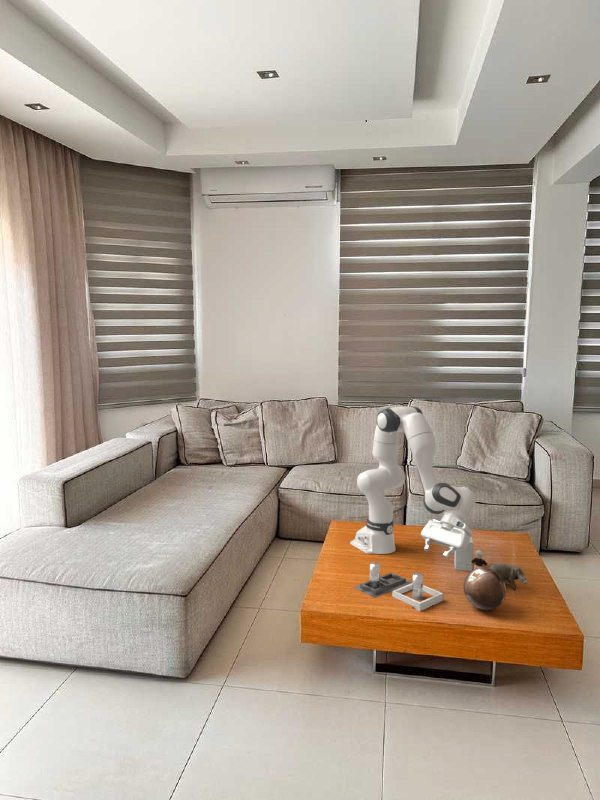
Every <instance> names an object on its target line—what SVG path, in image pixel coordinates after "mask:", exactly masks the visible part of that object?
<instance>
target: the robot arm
mask: <svg viewBox="0 0 600 800" xmlns="http://www.w3.org/2000/svg"><path fill="white" fill-rule="evenodd" d="M399 433H404V434H405V437H406V441H407V443H408V447H409V449H410V450H411V453H412V454H411V455H412V456H413V459H414V462H415V465H416V466H415V467H416V469H417V473H418V477H419V480H420V482H421V486H422V490H423V497H422V498H423V506H424V508H425V509H426V511H428V512H429V513H431V514H434V515H440V514H442V513H444V514H443V516H442V517H441V519H440V520H439V519H435V518H433V519H429V520H428V521H427V524H425V526H424V527H423V529H422V530H421V532H420V536H421V537H422V539H423V540H425V546H424V547H423V550H424V551H425V552H430V551H431V547H430V545H431V544H432V543H435V544H437V545H440V546H443V547H445V548H446V547H447V548H448V549H449V550H447V551H444V553H443V554H442V555H443V557H444V558H446V559H449V557H450V556H451V555H452V554H455V550H458V551H460V552H464V551H465V550H466V549H467V547H468V544H469V542H470V537H472V536H473V534H474V533H473V532H472V530H471V528H470V527H469V526H468V525H467V524H466V522H467V519H468V518H469V516H470V515H471V513H472V511H473V509H474V507H475V504H476V502H477V496H476V494H475V493H474V492H473V491H472V490H471V489H470V488H468V487H466V486H455V485H451V484H448V483H446V482H437V478H436V475H435V471H434V467H433V466H434V465H433V463H434V460H435V455H436V453H437V442H436V438H435V436H434V433H433V431H432V428H431V426H430V423H429V422H428V420H427V419H426V417H425V415H424V413H423V411H422V410H421V408H419V407H417V406H413V405H412V406H411V405H410V406H405V405H403V406H396V407H391V408H389V407H388V408H384V409H381V410H379V412H378V413H377V416H376V427H375V430H374V436H373V442H372V443H373V444H372V452H371V454H372V456H373V458H374V459H375V460H376V461H377V462H378V467H377V468H372V469H367V470H365V471H363V472H361V473H359V474H358V475H357V479H356V486H357V488H358V490H359V491H360V492H361V493H362V494H363V495H364V496H365V497H366V499H367V503H368V518H366V519H365V520H364V523H366V524H365V525H364V526H363V527H361V528H360V529H359V530H357V532H355V538H354V539H352V540H350V544H349V545H351V546H353V547H355V548H356V549H358V550H360V551H361V552H363V553H365V554H367V555H368V554H369V555H370V554H374V555H375V554H376V555H377V554H378V555H386V554H387V555H388V554H392V553H394V552H396V550H397V549H396V543H395V538H394V528H395V527H394V524H395V523H394V517H393V515H394V514H393V513H394V507H393V503H392V501H391V500H390V499H389V498H386V494H385V492H387V491H388V492H389V491H391V490H396V489H398V488H400V487H402V486H403V485H404V484H405V481H406V475H405V471H404V470H403V468H401V467H400V466H399V463H398V459H397V458H398V457H397V454H398V444H399V435H400V434H399Z"/></svg>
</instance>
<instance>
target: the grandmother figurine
mask: <svg viewBox="0 0 600 800" xmlns="http://www.w3.org/2000/svg"><path fill="white" fill-rule="evenodd" d="M484 555H485V554H484V552H483V551H482V550H480V549H477V550H476V551H475V557H474V558H473V560H472V561H471V564H470V566H472V564H473V566H472V567H473V570H474V569H477V568H484V567H485V568H490V567H489V565H488V562H487V561H486V560H485V559H483V557H484Z"/></svg>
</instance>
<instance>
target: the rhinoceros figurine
mask: <svg viewBox="0 0 600 800" xmlns="http://www.w3.org/2000/svg"><path fill="white" fill-rule="evenodd" d="M489 569H492V570H494V571H495V572H497V573H498V574H499V575H500V576H501V578H502V579H503V581H504V583H507V584H508V585H511V586H512V587H513V591H515V592H516V591H518V590H517V585H516V580H517V581H519V584H521V585H523V586H524V585H526V584H528V583H529V580H528V579H527V577H526V576H525V573H524V572H523V570H522V569H521V566H519V565H516V566H515V565H510V564H508V563H507V564H506V563H505V562H495V563H493V564H491V565H490V567H489ZM524 571H525V572H526V571H527V569H524Z"/></svg>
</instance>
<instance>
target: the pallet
mask: <svg viewBox="0 0 600 800" xmlns="http://www.w3.org/2000/svg"><path fill="white" fill-rule="evenodd" d="M412 582H413V581H411V580H408V579H406V577H403V576H400V575H398V574H396V573H394V572H389V573H386V574H384V575H380V588H377V589H373V588H371V587H370V580H368V581H365V582H363V583H360V584H359V585H356V586H354V587H353V589H355V590H357V591H359V592H362V593H364V594H366V595H368V596H369V597H372V598H374V599H376V598H378V597H380V596H383V595H386V594H388V593H392V591H394V590H397V589H399V588H402V587H404V586H406V585H409V584H411V583H412Z"/></svg>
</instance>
